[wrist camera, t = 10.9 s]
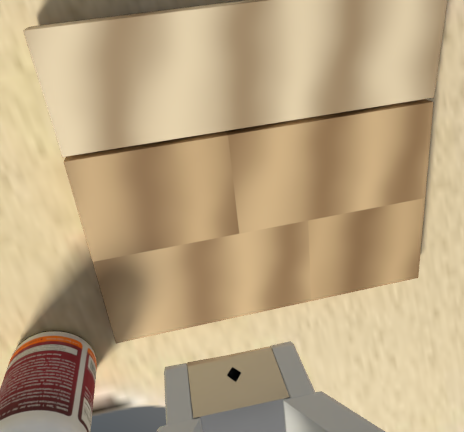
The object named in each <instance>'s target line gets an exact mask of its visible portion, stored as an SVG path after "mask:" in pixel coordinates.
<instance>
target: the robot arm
mask: <svg viewBox="0 0 464 432" xmlns="http://www.w3.org/2000/svg"><path fill="white" fill-rule="evenodd" d="M164 380H165V404H166V426H161V427H159V429H158V430H157V432H385V431H383V430H382V429H380V428H379V427H377V426H375V425H374V424H372V423H371V422H369V421H368V420H366V419H364V418H363V417H361V416H360V415H358V414H357V413H355V412H353V411H352V410H350V409H349V408H347V407H345V406H344V405H342V404H341V403H339V402H338V401H336V400H334V399H333V398H331V397H330V396H328V395H327V394H325V393H323V392H322V391H321V392H316V393H315V391H314V389H313V386H312V384H311V382H310V380H309V377H308V375H307V373H306V371H305V369H304V366H303V364H302V362H301V360H300V357H299V355H298V353H297V351H296V349H295V346H294V344H293V343H292V342H286V343H281V344H277V345H272V346H270V347H264V348H260V349H255V350H250V351H246V352H241V353H236V354H231V355H227V356H221V357H216V358H210V359H204V360H199V361H193V362H188V363H185V364H179V365H174V366H168V367H165V371H164Z"/></svg>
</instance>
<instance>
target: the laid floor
mask: <svg viewBox="0 0 464 432" xmlns="http://www.w3.org/2000/svg"><path fill="white" fill-rule="evenodd" d="M432 114H433V102H432V101H428V100H425V99H421V100H415V101H409V102H402V103H396V104H390V105H384V106H378V107H371V108H365V109H359V110H353V111H346V112H340V113H334V114H328V115H321V116H315V117H309V118H303V119H297V120H290V121H284V122H278V123H272V124H265V125H259V126H253V127H247V128H240V129H234V130H228V131H222V132H216V133H209V134H203V135H197V136H191V137H184V138H178V139H172V140H166V141H159V142H153V143H147V144H141V145H135V146H128V147H122V148H116V149H110V150H103V151H97V152H91V153H85V154H78V155H72V156H66V158H65V160H64V165H65V168H66V172H67V175H68V179H69V182H70V185H71V189H72V192H73V196H74V199H75V203H76V206H77V210H78V213H79V217H80V220H81V224H82V227H83V231H84V234H85V237H86V241H87V244H88V248H89V251H90V255H91V258H92V262H93V265H94V269H95V272H96V276H97V279H98V282H99V286H100V289H101V293H102V296H103V300H104V303H105V307H106V310H107V314H108V317H109V321H110V324H111V328H112V331H113V334H114V338H115V341H116V343H120V342H124V341H129V340H133V339H138V338H143V337H147V336H152V335H156V334H161V333H166V332H170V331H175V330H179V329H184V328H189V327H193V326H198V325H202V324H207V323H212V322H216V321H221V320H226V319H230V318H235V317H239V316H244V315H249V314H253V313H258V312H262V311H267V310H272V309H276V308H281V307H285V306H290V305H295V304H299V303H304V302H308V301H313V300H318V299H322V298H327V297H331V296H336V295H341V294H345V293H350V292H355V291H359V290H364V289H368V288H373V287H378V286H382V285H387V284H391V283H396V282H401V281H405V280H410V279H414V278H418V273H419V262H420V250H421V239H422V228H423V216H424V205H425V193H426V182H427V171H428V159H429V148H430V136H431V125H432Z"/></svg>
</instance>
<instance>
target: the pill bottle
mask: <svg viewBox="0 0 464 432" xmlns="http://www.w3.org/2000/svg"><path fill="white" fill-rule="evenodd" d="M96 369H97V362H96V356H95V353H94V351H93V349H92V348H91V346H90V345H89V344H88V343H87V342H86V341H84V340H83V339H82V338H80V337H78V336H76V335H73V334H70V333H66V332H58V331H52V332H43V333H39V334H36V335H34V336H32V337H30V338H28V339H26V340H25V341H24V342H22V343H21V344H20V345H19V346H18V347H17V349H16V350H15V351H14V353H13V355H12V357H11V360H10V362H9V365H8V368H7V371H6V374H5V377H4V380H3V383H2V386H1V389H0V432H90V430H91V420H92V409H93V399H94V389H95V379H96Z"/></svg>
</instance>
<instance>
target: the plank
mask: <svg viewBox="0 0 464 432" xmlns="http://www.w3.org/2000/svg"><path fill="white" fill-rule="evenodd" d="M446 7H447V0H245V1H237V2H229V3H220V4H212V5H204V6H196V7H188V8H179V9H171V10H163V11H155V12H147V13H138V14H130V15H122V16H114V17H106V18H98V19H89V20H81V21H73V22H65V23H57V24H48V25H40V26H32V27H28V28H26V29H25V30H23V32H24V35H25V38H26V41H27V45H28V48H29V51H30V54H31V57H32V61H33V64H34V67H35V70H36V74H37V77H38V80H39V83H40V87H41V90H42V93H43V96H44V99H45V103H46V106H47V109H48V112H49V116H50V119H51V122H52V125H53V129H54V132H55V135H56V138H57V142H58V145H59V148H60V151H61V154H62V157H66V156H72V155H78V154H85V153H91V152H97V151H103V150H110V149H116V148H122V147H128V146H135V145H141V144H147V143H153V142H159V141H166V140H172V139H178V138H184V137H191V136H197V135H203V134H209V133H216V132H222V131H228V130H234V129H240V128H247V127H253V126H259V125H265V124H272V123H278V122H284V121H290V120H297V119H303V118H309V117H315V116H321V115H328V114H334V113H340V112H346V111H353V110H359V109H365V108H371V107H378V106H384V105H390V104H396V103H402V102H409V101H415V100H421V99H427V98H434V93H435V86H436V79H437V72H438V64H439V57H440V50H441V43H442V36H443V28H444V21H445V14H446Z"/></svg>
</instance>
